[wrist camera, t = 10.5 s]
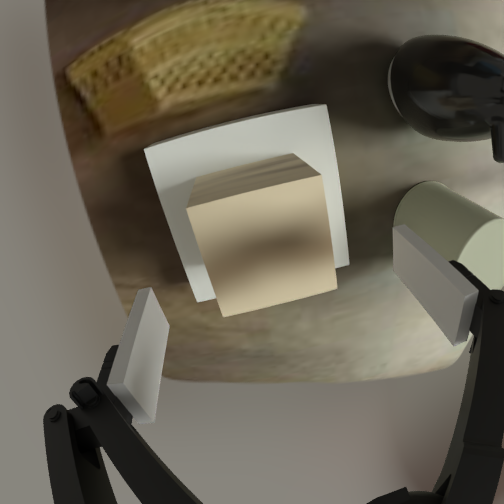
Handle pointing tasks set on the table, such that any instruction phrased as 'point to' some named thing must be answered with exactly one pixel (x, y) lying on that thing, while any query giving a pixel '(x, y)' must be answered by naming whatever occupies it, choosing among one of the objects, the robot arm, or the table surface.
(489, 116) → the pump dispenser
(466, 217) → the can
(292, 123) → the white square slab
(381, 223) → the table surface
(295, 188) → the maple cube
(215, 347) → the table surface
